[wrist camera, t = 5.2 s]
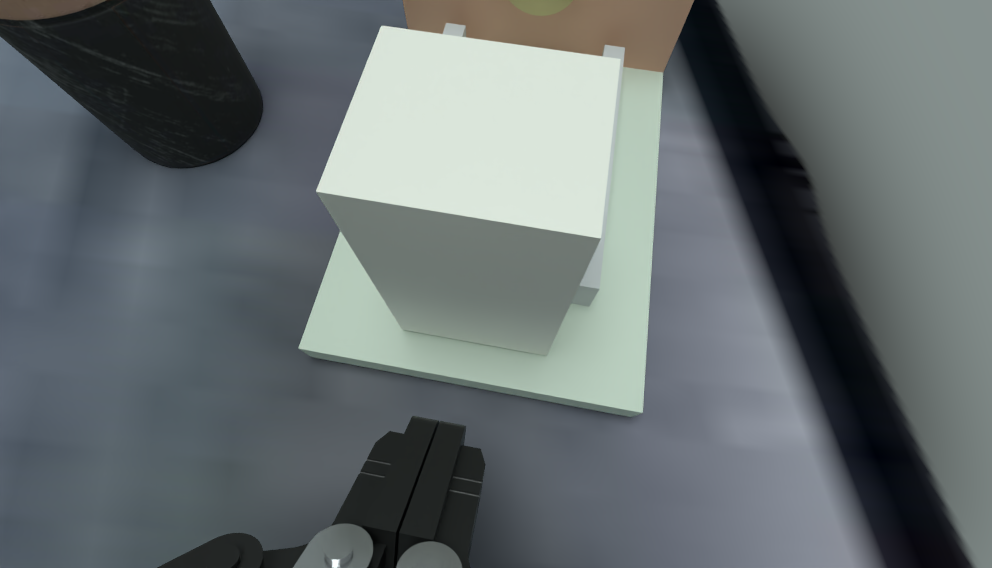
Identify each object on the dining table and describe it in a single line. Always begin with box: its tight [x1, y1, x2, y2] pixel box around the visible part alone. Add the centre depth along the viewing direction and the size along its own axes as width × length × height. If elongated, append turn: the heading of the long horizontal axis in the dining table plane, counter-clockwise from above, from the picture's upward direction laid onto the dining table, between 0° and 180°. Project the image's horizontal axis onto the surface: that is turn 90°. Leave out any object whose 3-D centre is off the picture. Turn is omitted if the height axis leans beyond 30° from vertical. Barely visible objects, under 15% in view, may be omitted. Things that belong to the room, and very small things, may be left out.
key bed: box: [298, 0, 694, 417], centre depth 19 cm, size 22×14×12 cm, turn 170°
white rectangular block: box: [316, 26, 621, 356], centre depth 15 cm, size 5×6×10 cm
